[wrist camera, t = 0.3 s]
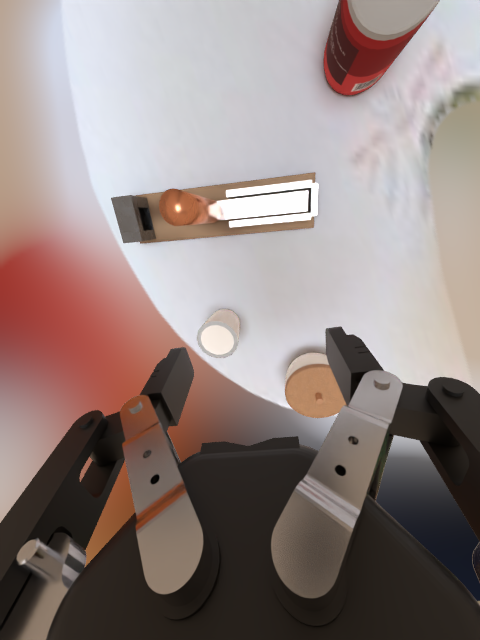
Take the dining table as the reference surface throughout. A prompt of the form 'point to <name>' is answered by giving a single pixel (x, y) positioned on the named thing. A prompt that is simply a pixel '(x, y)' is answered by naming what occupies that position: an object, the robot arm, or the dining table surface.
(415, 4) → the canned food
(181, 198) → the sliding bolt with handle
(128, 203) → the socket block
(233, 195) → the guide sleeve
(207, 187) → the plank
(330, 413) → the lidded jar
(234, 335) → the beige cylindrical piece
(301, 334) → the dining table surface
